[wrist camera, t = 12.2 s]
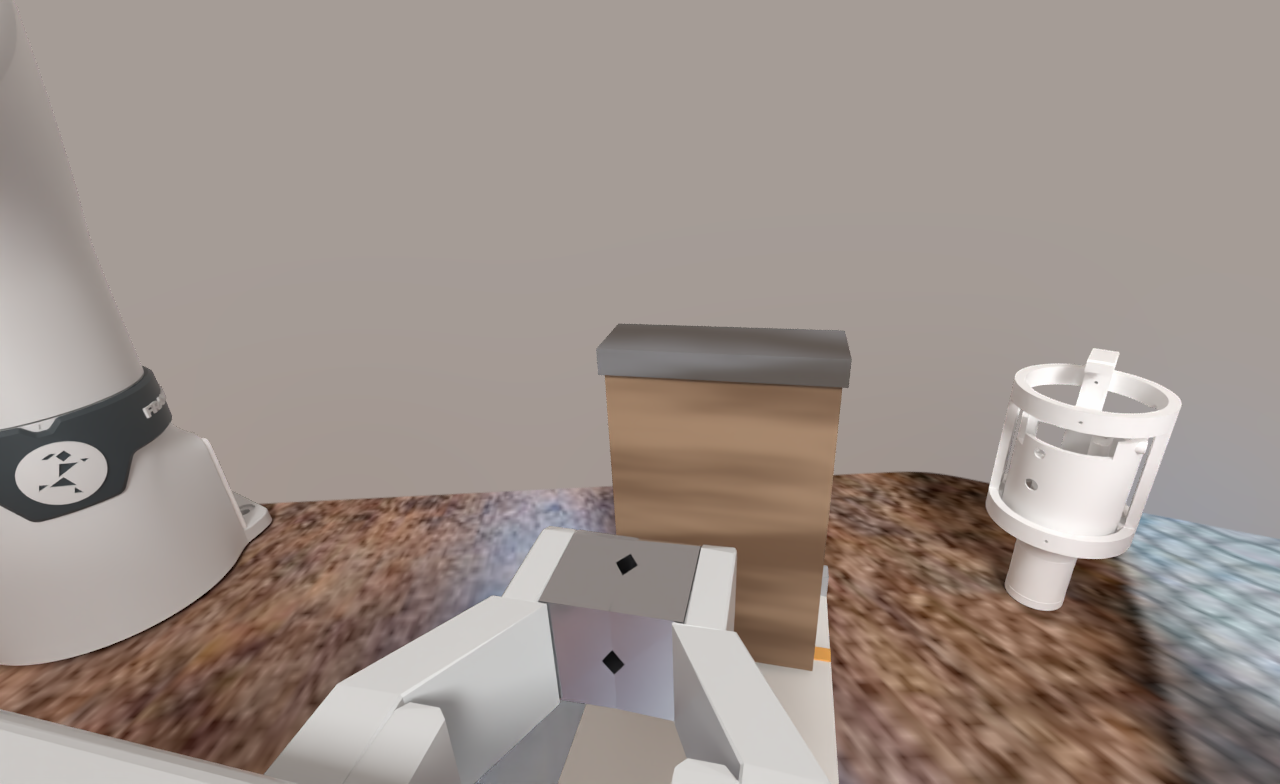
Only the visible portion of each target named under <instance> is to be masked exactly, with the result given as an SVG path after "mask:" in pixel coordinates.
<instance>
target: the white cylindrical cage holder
mask: <svg viewBox="0 0 1280 784" xmlns="http://www.w3.org/2000/svg"><path fill="white" fill-rule="evenodd" d="M1118 356H1119V352H1115V351H1109V350H1103V349H1095V348H1093V350H1092V352H1091V354H1090V356H1089V358H1088V361H1087V363H1086V365H1076V364H1041V365H1034V366H1029V367H1026V368H1023V369H1021V370H1020V371H1018V372H1017V373H1016V375H1015V379H1014V383H1013V387H1012V392H1011V396H1010V400H1009V405H1008V409H1007V413H1006V417H1005V421H1004V426H1003V430H1002V434H1001V439H1000V443H999V448H998V452H997V456H996V460H995V465H994V469H993V473H992V478H991V482H990V486H989V490H988V495H987V499H986V509H987V512H988V514H989V515H990V517H991V518H992V519H993V521H994V522H995V523H996V524H997V525H999V526H1000V527H1001V528H1002V529H1003V530H1005V531H1006V532H1008V533H1009V534H1011V535H1012V536H1014V537H1016V538H1017V539H1016V543H1015V548H1014V552H1013V555H1012V559H1011V563H1010V567H1009V570H1008V574H1007V577H1006V580H1005V588H1006V591H1007V592H1008V593H1009V595H1010V596H1011V597H1013V598H1014V599H1015V600H1016V601H1018V602H1020V603H1021V604H1023V605H1025V606H1028V607H1030V608H1034V609H1037V610H1044V611H1051V610H1056V609H1058V608H1060V607H1061V606H1062V604H1063V601H1064V598H1065V594H1066V591H1067V587H1068V584H1069V581H1070V578H1071V575H1072V572H1073V569H1074V566H1075V564H1076V561H1077V558H1085V559H1103V558H1110V557H1115V556H1118V555H1120V554H1122V553H1124V552H1125V551H1127V550H1128V549H1129V547H1130V545H1131V543H1132V540H1133V537H1134V535H1135V532H1136V529H1137V526H1138V524H1139V521H1140V518H1141V515H1142V513H1143V510H1144V507H1145V504H1146V502H1147V499H1148V496H1149V493H1150V491H1151V488H1152V485H1153V482H1154V480H1155V477H1156V474H1157V471H1158V469H1159V466H1160V463H1161V460H1162V458H1163V455H1164V452H1165V449H1166V447H1167V444H1168V441H1169V439H1170V436H1171V433H1172V430H1173V427H1174V425H1175V422H1176V419H1177V417H1178V414H1179V411H1180V408H1181V405H1182V403H1181V400H1180V399H1179V397H1178V396H1177V395H1175V394H1174V393H1173V392H1172V391H1170V390H1169V389H1167V388H1165V387H1163V386H1161V385H1159V384H1157V383H1155V382H1152V381H1149V380H1147V379H1144V378H1141V377H1138V376H1135V375H1131V374H1128V373H1124V372H1120V371H1115V370H1114V369H1115V366H1116V362H1117V359H1118ZM1046 384H1067V385H1078V386H1082V387H1081V390H1080V393H1079V397H1078V400H1077V403H1076V406H1073V405H1069V404H1066V403H1062V402H1059V401H1056V400H1054V399H1051V398H1049V397H1046V396H1044V395H1042V394H1040V393H1038V392H1036V391H1035V390H1033V389H1032V388H1031V387H1034V386H1039V385H1046ZM1108 391H1111V392H1114V393H1118V394H1121V395H1124V396H1127V397H1130V398H1133V399H1135V400H1137V401H1139V402H1142V403H1144V404H1146V405H1147V406H1149V407H1151V408H1155V409H1158V411H1154V412H1149V413H1136V414H1127V413H1112V412H1103V411H1102V408H1103V405H1104V402H1105V398H1106V395H1107V392H1108ZM1020 409H1021V410H1023V411H1024V412H1023V414H1022V418H1021V422H1020V426H1019V430H1018V434H1017V438H1016V443H1015V446H1014V450H1013V454H1012V459H1011V463H1010V467H1009V471H1008V473H1005V470H1006V466H1007V462H1008V458H1009V454H1010V450H1011V446H1012V442H1013V437H1014V433H1015V429H1016V425H1017V421H1018V416H1019V413H1020ZM1040 421H1041V422H1046V423H1050V424H1052V425H1055V426H1059V427H1062V428H1065V429H1066V430H1065V434H1064V437H1063V441H1062V444H1061V448H1057V447H1055V446H1052V445H1050V444H1047V443H1045V442H1043V441H1041V440H1039V439H1038V438H1036V433H1037V430H1038V425H1039V422H1040ZM1149 437H1154V439H1153V442H1152V444H1151V448H1150V450H1149V453H1148V456H1147V459H1146V461H1145V464H1144V467H1143V470H1142V473H1141V476H1140V478H1139V482H1138V484H1137V487H1136V490H1135V493H1134V496H1133V498H1132V501H1131V504H1130V507H1128V506H1127V505H1126V502H1127V499H1128V496H1129V493H1130V490H1131V487H1132V484H1133V481H1134V479H1135V476H1136V473H1137V469H1138V467H1139V464H1140V461H1141V458H1142V455H1143V454H1144V453H1145V451H1146V448H1147V445H1148V442H1147V441H1148V438H1149ZM1128 438H1132V439H1131V440H1130V439H1128ZM1133 438H1136V439H1133ZM1037 448H1038V449H1039V450H1035V449H1037ZM1040 449H1041V450H1043V451H1044V453H1045V454H1042V453H1041V452H1040Z"/></svg>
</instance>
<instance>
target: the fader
mask: <svg viewBox="0 0 1280 784" xmlns="http://www.w3.org/2000/svg"><path fill="white" fill-rule="evenodd" d="M596 351H597V364H598V374H599V375H605V383H606V397H607V411H608V425H609V439H610V452H611V466H612V479H613V480H612V481H613V494H614V508H615V522H616V535H620V536H627V537H635V538H639V539H649V540H658V541H666V542H675V543H684V544H693V545H702V546H703V545H711V546H722V547H733V548H735V549H736V550H737V572H736V598H735V619H734V632H737V634H738V636H739V637H740V639H741V640H742V642H743V644H744V645H745V647H746V648H747V650H748V652H749V653H750V655H751V656H752V658H753V660H754V661H755V662H758V663H764V664H770V665H776V666H783V667H789V668H795V669H801V670H808V671H813V662H814V652H815V643H816V633H817V624H818V614H819V605H820V595H821V586H822V576H823V566H824V557H825V547H826V538H827V528H828V519H829V509H830V500H831V490H832V481H833V471H834V462H835V452H836V442H837V433H838V424H839V414H840V405H841V395H842V387H843V388H848V387H849V378H850V369H851V355H850V351H849V347H848V343H847V338H846V334H845V331H838V330H806V329H772V328H741V327H709V326H708V327H706V326H676V325H643V324H618V325H617V326H616V327H615V328H614V329H613V331H612V332H611V333H610V334H609V335H608V336H607V337H606V339H605V340H604V341H603V342H602V343H601V344H600V345H599V346H598V348H597V350H596Z"/></svg>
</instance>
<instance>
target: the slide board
mask: <svg viewBox="0 0 1280 784" xmlns="http://www.w3.org/2000/svg"><path fill="white" fill-rule="evenodd" d="M828 578H829V576H828V566H823V576H822V586H821V595H820V605H819V614H818V624H817V633H816V643H815V652H814V662H813V671H808V670H801V669H795V668H789V667H783V666H776V665H770V664H764V663H758V662H755V663H756V664H757V666H758V668H759V669H760V671H761V672H762V674H763V676H764V677H765V679H766V680H767V682H768V684H769V685H770V687H771V688H772V690H773V692H774V693H775V695H776V696H777V698H778V700H779V701H780V703H781V704H782V706H783V708H784V709H785V711H786V712H787V714H788V716H789V717H790V719H791V720H792V722H793V724H794V725H795V727H796V728H797V730H798V732H799V733H800V735H801V736H802V738H803V740H804V741H805V743H806V744H807V746H808V748H809V749H810V751H811V752H812V754H813V756H814V757H815V759H816V760H817V762H818V764H819V765H820V767H821V768H822V770H823V772H824V773H825V775H826V776H827V778H828V780H829V781H830V783H831V784H839V779H838V764H837V749H836V734H835V719H834V704H833V689H832V673H831V654H830V643H829V628H828V613H827V598H826V596H827V587H828ZM685 759H687V757H686V755H685V752H684V749H683V746H682V744H681V741H680V738H679V735H678V732H677V730H676V727H675V721H671V720H666V719H661V718H657V717H652V716H648V715H643V714H638V713H634V712H629V711H625V710H620V709H615V708H609V707H602V706H596V705H590V704H586V706H585V709H584V711H583V714H582V717H581V720H580V723H579V725H578V728H577V731H576V734H575V736H574V739H573V742H572V745H571V748H570V750H569V753H568V756H567V759H566V761H565V764H564V767H563V770H562V773H561V775H560V778H559V781H558V784H671V783H672V778H673V773H674V768H675V767H676V766H677V765H678V764H680V763H681V762H683V761H684V760H685Z"/></svg>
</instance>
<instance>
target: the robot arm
mask: <svg viewBox="0 0 1280 784" xmlns="http://www.w3.org/2000/svg"><path fill="white" fill-rule="evenodd" d="M171 420H172V415H171V412H170V410H169V408H168V405H167V403H166V395H165V393H164V391H163V389H162V387H161V386H160V385H159V384H158V382H157V380H156V378H155V376H154V374H153V372H152V371H151V370H150V369H148V368H146V367H144V366H142V365H141V363H140V360H139V358H138V355H137V353H136V350H135V348H134V346H133V343H132V341H131V339H130V336H129V334H128V331H127V329H126V326H125V324H124V322H123V319H122V317H121V314H120V312H119V309H118V307H117V305H116V302H115V300H114V297H113V295H112V293H111V290H110V287H109V285H108V282H107V280H106V278H105V275H104V273H103V270H102V268H101V265H100V263H99V260H98V258H97V255H96V253H95V250H94V247H93V245H92V242H91V239H90V235H89V232H88V228H87V225H86V221H85V217H84V213H83V210H82V206H81V202H80V198H79V195H78V191H77V188H76V184H75V181H74V178H73V174H72V171H71V167H70V164H69V161H68V157H67V154H66V151H65V148H64V144H63V142H62V138H61V135H60V132H59V129H58V126H57V122H56V119H55V116H54V113H53V110H52V107H51V104H50V101H49V98H48V95H47V92H46V89H45V86H44V83H43V80H42V77H41V74H40V71H39V68H38V65H37V63H36V60H35V57H34V54H33V51H32V48H31V45H30V42H29V40H28V37H27V34H26V31H25V28H24V25H23V23H22V20H21V17H20V14H19V11H18V8H17V5H16V3H15V1H14V0H0V664H1V665H13V666H20V665H34V664H42V663H48V662H54V661H59V660H63V659H67V658H71V657H75V656H79V655H82V654H85V653H89V652H92V651H95V650H98V649H101V648H103V647H106V646H109V645H112V644H114V643H117V642H119V641H122V640H124V639H126V638H129V637H131V636H133V635H135V634H138V633H140V632H142V631H144V630H146V629H148V628H150V627H152V626H154V625H156V624H158V623H160V622H161V621H163V620H165V619H167V618H169V617H170V616H172V615H174V614H175V613H177V612H179V611H180V610H182V609H183V608H185V607H186V606H188V605H189V604H191V603H192V602H194V601H195V600H197V599H198V598H199V597H201V596H202V595H203V594H205V593H206V592H207V591H208V590H210V589H211V588H212V587H213V586H214V585H215V584H217V583H218V582H219V581H220V580H221V579H222V578H223V577H224V576H225V575H226V574H227V572H228V571H229V570H230V569H231V568H232V566H233V565H234V564H235V562H236V561H237V559H238V557H239V556H240V554H241V552H242V551H243V549H244V548H245V546H246V545H247V544H248V543H249V542H250V541H251V540H252V539H254V538H255V537H256V536H257V535H258V534H260V533H261V532H262V531H263V530H264V529H265V528H266V527H267V526H268V525H269V524H270V523H271V521H272V517H271V516H270V514H269V512H268V510H267V508H265V507H263V506H261V505H259V504H257V503H255V502H253V501H251V500H249V499H247V498H245V497H243V496H241V495H239V494H237V493H235V492H233V491H232V490H231V488H230V486H229V484H228V481H227V479H226V477H225V475H224V472H223V470H222V468H221V465H220V463H219V461H218V459H217V456H216V454H215V452H214V450H213V447H212V445H211V443H210V442H209V440H208V439H207V438H200V437H199V436H198V435H196V434H195V433H192V432H188V431H185V430H183V429H180V428H178V427H177V426H175V425H174V424H172V423H171ZM736 572H737V550H736V549H735V548H733V547H722V546H711V545H703V546H702V545H693V544H684V543H675V542H666V541H658V540H649V539H639V538H635V537H627V536H620V535H613V534H606V533H599V532H592V531H585V530H575V529H568V528H561V527H553V526H549V527H547V528H545V529H544V530H543V531H542V532H541V533H540V535H539V537H538V538H537V540H536V541H535V543H534V545H533V546H532V548H531V550H530V551H529V553H528V554H527V556H526V558H525V559H524V561H523V563H522V564H521V566H520V567H519V569H518V571H517V572H516V574H515V575H514V577H513V579H512V580H511V582H510V584H509V585H508V587H507V588H506V590H505V592H504V593H503V595H502V597H499V596H491V597H489V598H487V599H485V600H484V601H482V602H480V603H478V604H477V605H475V606H473V607H471V608H470V609H468V610H466V611H464V612H463V613H461V614H459V615H457V616H456V617H454V618H452V619H450V620H449V621H447V622H445V623H443V624H442V625H440V626H438V627H436V628H435V629H433V630H431V631H429V632H427V633H426V634H424V635H422V636H420V637H419V638H417V639H415V640H413V641H412V642H410V643H408V644H406V645H405V646H403V647H401V648H399V649H398V650H396V651H394V652H392V653H391V654H389V655H387V656H385V657H384V658H382V659H380V660H378V661H377V662H375V663H373V664H371V665H370V666H368V667H366V668H364V669H363V670H361V671H359V672H357V673H356V674H354V675H352V676H350V677H348V678H347V679H345V680H343V681H341V682H340V683H338V684H337V685H336V686H335V687H334V689H333V690H332V691H331V692H330V693H329V695H328V696H327V697H326V698H325V700H324V701H323V702H322V703H321V705H320V706H319V707H318V708H317V709H316V711H315V712H314V713H313V714H312V716H311V717H310V718H309V719H308V721H307V722H306V723H305V724H304V725H303V727H302V728H301V729H300V730H299V732H298V733H297V734H296V735H295V737H294V738H293V739H292V740H291V741H290V743H289V744H288V745H287V746H286V748H285V749H284V750H283V751H282V752H281V754H280V755H279V756H278V757H277V759H276V760H275V761H274V762H273V764H272V765H271V766H270V767H269V768H268V770H267V771H266V772H265V773H264V775H262V774H258V773H254V772H250V771H246V770H242V769H238V768H234V767H230V766H226V765H222V764H218V763H214V762H210V761H206V760H202V759H198V758H194V757H190V756H186V755H182V754H178V753H174V752H170V751H166V750H162V749H158V748H154V747H150V746H146V745H142V744H138V743H134V742H130V741H126V740H122V739H118V738H114V737H110V736H105V735H101V734H97V733H93V732H89V731H85V730H81V729H77V728H73V727H69V726H65V725H61V724H57V723H53V722H49V721H45V720H41V719H37V718H33V717H29V716H25V715H21V714H17V713H13V712H9V711H5V710H1V709H0V784H475V783H476V782H477V781H478V780H479V779H480V778H481V777H482V776H483V775H484V774H485V773H486V772H487V771H489V770H490V769H491V768H492V767H493V766H494V765H495V764H496V763H497V762H498V761H499V760H500V759H501V758H502V757H503V756H505V755H506V754H507V753H508V752H509V751H510V750H511V749H512V748H513V747H514V746H515V745H516V744H517V743H518V742H520V741H521V740H522V739H523V738H524V737H525V736H526V735H527V734H528V733H529V732H530V731H531V730H532V729H533V728H535V727H536V726H537V725H538V724H539V723H540V722H541V721H542V720H543V719H544V718H545V717H546V716H547V715H548V714H549V713H551V712H552V711H553V710H554V709H555V708H556V707H557V706H558V705H559V704H560V700H564V701H570V702H577V703H583V704H590V705H596V706H602V707H609V708H615V709H620V710H625V711H629V712H634V713H638V714H643V715H648V716H652V717H657V718H661V719H666V720H671V721H675V727H676V730H677V732H678V735H679V738H680V741H681V744H682V746H683V749H684V752H685V755H686V757H687V759H685V760H684V761H683V762H681V763H680V764H678V765H677V766H676V767H675V768H674V773H673V778H672V783H671V784H831V783H830V781H829V780H828V778H827V776H826V775H825V773H824V772H823V770H822V768H821V767H820V765H819V764H818V762H817V760H816V759H815V757H814V756H813V754H812V752H811V751H810V749H809V748H808V746H807V744H806V743H805V741H804V740H803V738H802V736H801V735H800V733H799V732H798V730H797V728H796V727H795V725H794V724H793V722H792V720H791V719H790V717H789V716H788V714H787V712H786V711H785V709H784V708H783V706H782V704H781V703H780V701H779V700H778V698H777V696H776V695H775V693H774V692H773V690H772V688H771V687H770V685H769V684H768V682H767V680H766V679H765V677H764V676H763V674H762V672H761V671H760V669H759V668H758V666H757V664H756V663H755V661H754V660H753V658H752V656H751V655H750V653H749V652H748V650H747V648H746V647H745V645H744V644H743V642H742V640H741V639H740V637H739V636H738V634H737V632H734V619H735V598H736Z"/></svg>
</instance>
